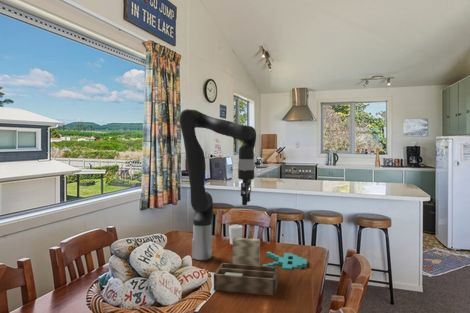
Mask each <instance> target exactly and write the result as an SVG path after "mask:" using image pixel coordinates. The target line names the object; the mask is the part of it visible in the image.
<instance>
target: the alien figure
mask: <svg viewBox="0 0 470 313" xmlns="http://www.w3.org/2000/svg"><path fill="white" fill-rule="evenodd" d="M268 257H269V258H270V259H273V260H274V261H272V262H268V263H267V264H264V263H263V264H262V266H272V267H279V266H280V267H281V269H282V270H290V271H293V269H299V268H300V270H302V269H303V268H307V267H308V266H307V265H308V262H307V261H308V259H307V258H303V256H298V254H294V253H290V252H284V253H283V257H282V256H280V255H277V254H276V253H272V251H266V258H268Z"/></svg>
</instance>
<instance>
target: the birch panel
mask: <svg viewBox="0 0 470 313" xmlns="http://www.w3.org/2000/svg"><path fill="white" fill-rule="evenodd" d="M232 264H245V265H259V266H261V238H249V237H242V238H235V237H234V238H233V245H232Z"/></svg>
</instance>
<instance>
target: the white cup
mask: <svg viewBox="0 0 470 313" xmlns="http://www.w3.org/2000/svg"><path fill="white" fill-rule="evenodd" d="M228 236H229V244H230V245H232V246H233V238H234V237H235V238H243V225H242V224H230V225H229V226H228Z"/></svg>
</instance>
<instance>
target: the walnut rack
mask: <svg viewBox="0 0 470 313" xmlns="http://www.w3.org/2000/svg"><path fill="white" fill-rule="evenodd" d="M226 272H229V273H242V274H243V276H236V275H224V274H225V273H226ZM278 283H279V266H273V267H272V266H263V265H260V266H259V265H245V264H233V262H232V263H230V262H221V264H219V266H218V268H217V269H216V270H215V272H214V274H213V290H214V291H220V292H221V291H222V292H232V293H233V292H234V293H242V294H243V293H244V294H255V295H267V296H276V294H277V288H278V285H279V284H278Z"/></svg>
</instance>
